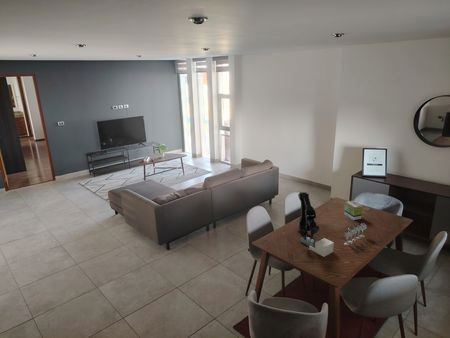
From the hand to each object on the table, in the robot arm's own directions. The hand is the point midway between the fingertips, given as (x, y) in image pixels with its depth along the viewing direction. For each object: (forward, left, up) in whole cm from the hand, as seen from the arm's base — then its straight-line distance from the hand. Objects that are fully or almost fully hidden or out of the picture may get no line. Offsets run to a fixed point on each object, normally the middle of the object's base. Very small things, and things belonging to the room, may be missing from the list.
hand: (308, 238), depth 270 cm
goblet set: (+21, +38, -6) cm, 44 cm away
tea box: (-7, +78, -6) cm, 79 cm away
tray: (0, 0, -6) cm, 6 cm away
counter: (+14, 0, -6) cm, 15 cm away
